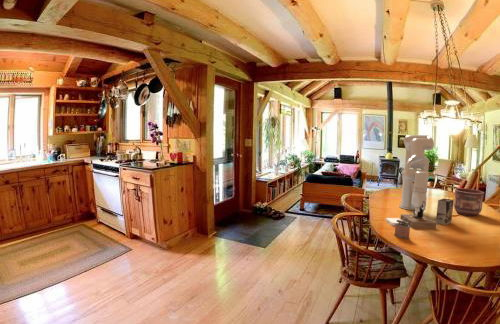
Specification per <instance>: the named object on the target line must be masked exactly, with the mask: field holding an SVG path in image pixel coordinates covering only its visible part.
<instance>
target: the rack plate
mask: <svg viewBox="0 0 500 324" xmlns="http://www.w3.org/2000/svg"><path fill="white" fill-rule="evenodd" d="M414 216H415V215H414V214H407V213H406V214H404V213H403V214H401V213H400V218H399V219H401V220H402V221H405V222H408V226H410V228H411V229H437V225H438V223H436V220H432V219H431V218H429V217H427V216H426V215H424V214H423V217H422V218H421V219H415V218H414Z"/></svg>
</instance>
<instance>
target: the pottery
mask: <svg viewBox="0 0 500 324" xmlns="http://www.w3.org/2000/svg"><path fill="white" fill-rule="evenodd" d="M484 196H485V191H482V190H479V189H473V188H455V189H454V202H453V208H454V211H455V212H456V213H457V214H459V215H463V216H467V217H469V216H470V217H476V216H478V215H479V214H480V213H481V212H482V209H483V202H484V198H485V197H484Z"/></svg>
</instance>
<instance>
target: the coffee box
mask: <svg viewBox="0 0 500 324" xmlns="http://www.w3.org/2000/svg"><path fill="white" fill-rule="evenodd" d="M454 202H455V199H448V198H441V199H440V198H439V199H438V200H437V208H436V217H435V218H436V219H435V222H436V223H437V224H440V225H444V226H447V225H449V224H451V223H452V221H453V220H452V219H453V212H454V211H453V210H454V209H453V208H454Z"/></svg>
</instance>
